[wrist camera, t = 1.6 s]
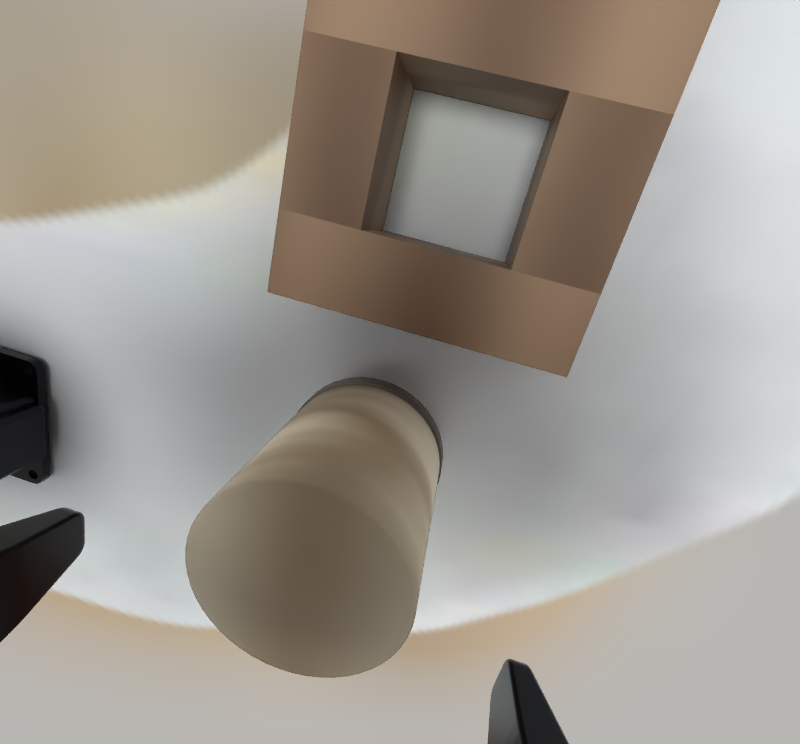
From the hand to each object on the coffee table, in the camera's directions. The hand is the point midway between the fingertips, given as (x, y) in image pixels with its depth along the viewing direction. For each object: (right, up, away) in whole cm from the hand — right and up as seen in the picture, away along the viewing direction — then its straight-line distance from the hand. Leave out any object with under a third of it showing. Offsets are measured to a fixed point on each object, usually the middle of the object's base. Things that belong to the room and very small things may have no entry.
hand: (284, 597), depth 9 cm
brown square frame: (+4, +11, +6) cm, 13 cm away
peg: (+2, +3, +9) cm, 9 cm away
